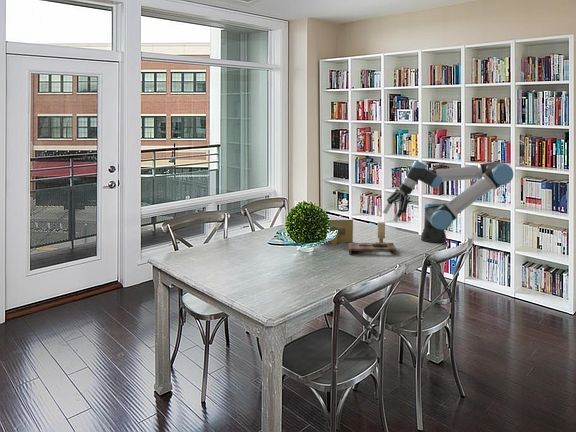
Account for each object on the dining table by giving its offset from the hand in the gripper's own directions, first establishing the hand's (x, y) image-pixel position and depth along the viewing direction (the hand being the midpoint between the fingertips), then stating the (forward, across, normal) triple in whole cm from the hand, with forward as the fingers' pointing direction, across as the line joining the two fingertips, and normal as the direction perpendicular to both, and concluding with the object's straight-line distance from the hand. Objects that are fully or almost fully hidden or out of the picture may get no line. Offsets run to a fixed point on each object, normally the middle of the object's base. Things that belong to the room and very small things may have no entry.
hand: (389, 217), depth 299 cm
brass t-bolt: (+18, +2, +4) cm, 18 cm away
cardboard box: (+31, -12, -17) cm, 38 cm away
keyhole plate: (+21, +13, -7) cm, 25 cm away
